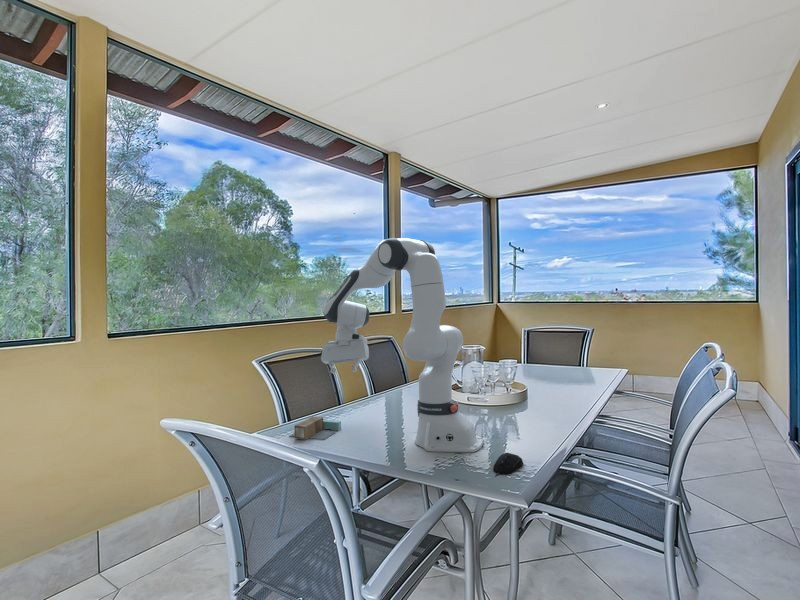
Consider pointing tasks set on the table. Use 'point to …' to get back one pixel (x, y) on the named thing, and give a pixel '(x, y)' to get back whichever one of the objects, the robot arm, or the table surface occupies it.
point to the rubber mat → (319, 435)
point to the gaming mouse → (507, 464)
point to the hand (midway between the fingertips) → (343, 372)
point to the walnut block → (308, 427)
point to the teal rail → (331, 424)
